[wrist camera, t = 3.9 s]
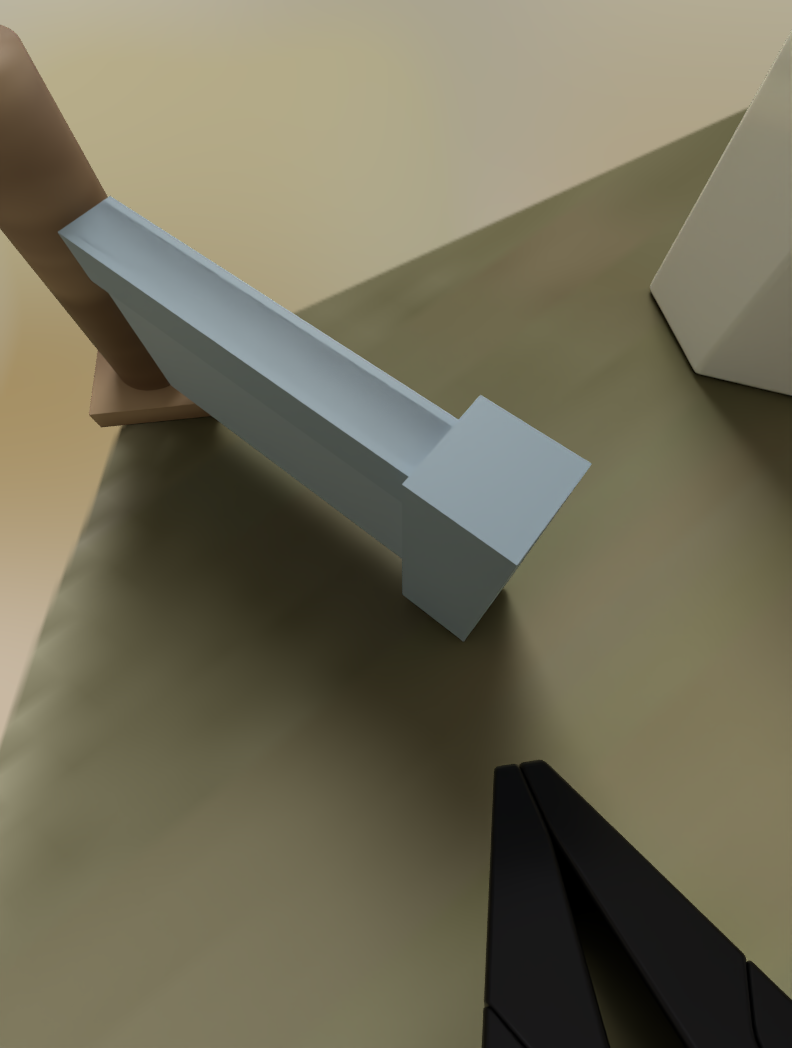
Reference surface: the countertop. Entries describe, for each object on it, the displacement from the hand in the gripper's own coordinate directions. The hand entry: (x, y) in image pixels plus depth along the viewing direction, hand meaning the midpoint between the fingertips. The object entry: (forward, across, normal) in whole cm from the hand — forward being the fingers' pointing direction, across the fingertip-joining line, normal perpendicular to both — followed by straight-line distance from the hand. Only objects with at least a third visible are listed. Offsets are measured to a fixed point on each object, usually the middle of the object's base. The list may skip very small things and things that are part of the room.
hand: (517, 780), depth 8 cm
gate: (+11, +3, -2) cm, 11 cm away
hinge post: (+15, +9, -6) cm, 19 cm away
